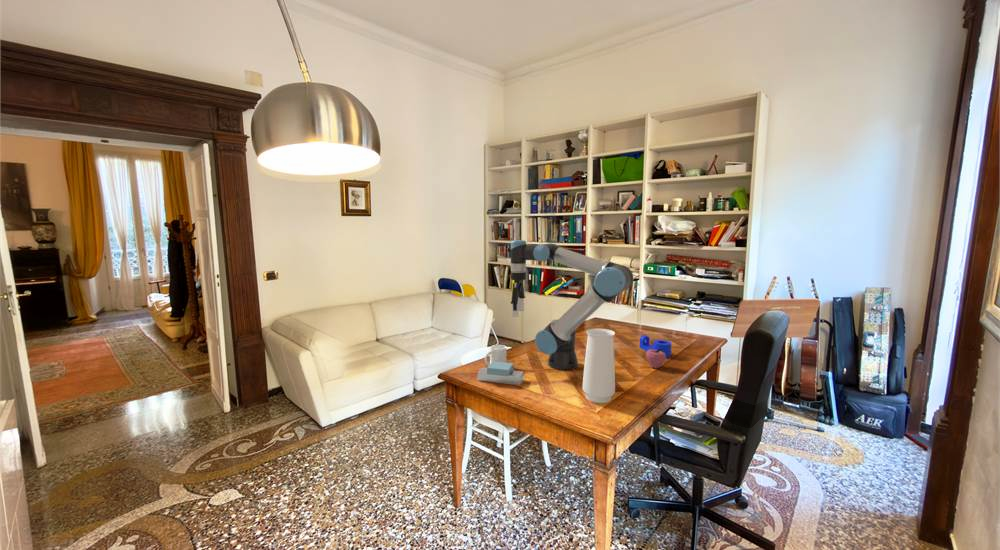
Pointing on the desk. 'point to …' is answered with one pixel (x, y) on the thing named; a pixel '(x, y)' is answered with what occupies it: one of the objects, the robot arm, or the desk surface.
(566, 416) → the desk surface
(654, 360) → the apple
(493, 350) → the mug
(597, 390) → the vase
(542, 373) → the desk surface
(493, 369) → the pale blue memo pad
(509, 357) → the desk surface
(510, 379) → the grey block with holes
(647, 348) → the bracket
